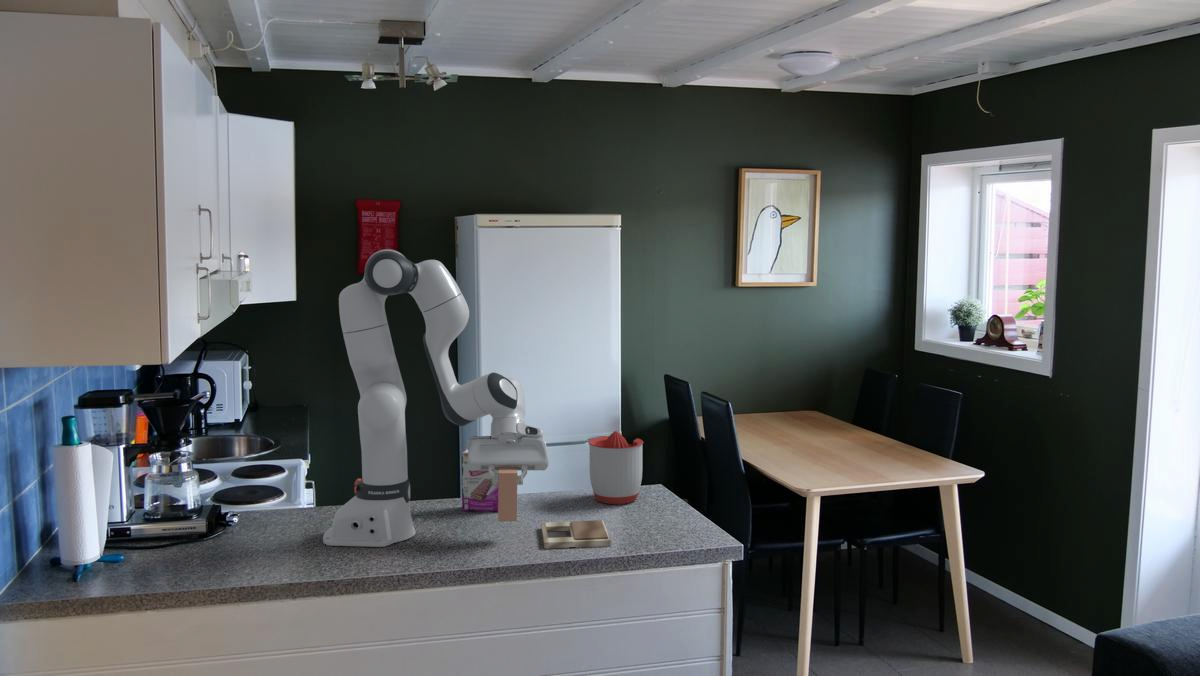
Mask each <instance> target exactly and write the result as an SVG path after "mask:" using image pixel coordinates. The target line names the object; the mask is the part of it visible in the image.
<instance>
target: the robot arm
mask: <svg viewBox="0 0 1200 676" xmlns="http://www.w3.org/2000/svg"><path fill="white" fill-rule="evenodd" d="M363 273H364V274H363V277H362V280H361V281H358V282H357V283H352V284H350V285H347V286H346V287H345V288H343V289H342V290H341V291H340V293H339V295H338V296H339V297H338V308H339V309H338V311H339V313H338V314H339V319H340V320H339V321H340V327H341V330H342V335H343V340H344V344H345V348H346V352H347V357H348V361H349V364H350V367H351V370H352V372H353V376H354V379H355V382H356V384H357V385H356V386H357V389H358V391H359V396H360V398H359V401H358V404H357V415H358V429H359V440H360V448H361V449H360V450H361V451H360V452H361V469H362V470H361V474H362V475H361V476H362V477H361V478H356V480H355V482H354V486H353V489H354V496H353V497H352V498H351V499H349V500H348V501H347V502H345V503H344V504H343V505H342V506H341V507H340V508H338V509H337V511H336V512H335V514H334V515H333V519H332V524H331V527H329V528H327V530H326V531H325V532H324V534H323V536H322V542H323V544H324V545H325V544H326V546H333V547H334V546H335V547H337V546H338V547H340V546H341V547H371V548H375V547H378V548H383V547H388V546H390V545H392V544H394V543H395V544H396V543H399V542H403V541H406V540H408V539H411V538H412V537H414V536H416V529H415V526H414V522H413V518H412V514H411V513H412V512H411V507H410V506H411V505H410V500H411V484H410V478H409V477H408V476H409V475H408V446H407V445H408V444H407V433H406V413H405V412H406V406H407V393H406V389H405V384H404V381H403V378H402V373H401V371H400V367H399V363H398V360H397V357H396V354H395V348H394V344H393V341H392V336H391V332H390V326H389V323H388V319H387V314H386V308H385V305H386V304H385V303H386V299H387V298H388V296H395V295H399V294H406V293H407V294H408V295H411V297H412V298H413V299H414V300H415V303H416V304H417V306H418V309H419V310H420V312H421V313H422V316H423V319H424V323H425V333H424V334H423V336H422V342H423V348H424V351H425V354H426V358H427V361H428V364H429V367H430V370H431V372H432V375H433V379H434V381H435V384H436V387H437V391H438V394H439V398H440V404H441V408H442V412H443V414H444V416H445V417H444V418H446V419H447V420H448V421H449V422H451V423H452V424H454V425H456V426H459V427H464V426H466V425H467V426H468V425H469V424H471V423H473V422H475V421H477V420H478V419H481V418H483V417H486V416H489V415H490V416H491V418H492V420H491V423H490V435H482V436H481V435H480V436H479V435H473V436H471V437H470V438H468V439H467V441H466V449H467V450H468V458H467V467H468V468H469V469H470V470H472V471H486V470H489V475H490V477H491V478H492V479H493V485H499V476H496V475H495V474H494V470H499V469H517V471H521V472H520V473H521V474H520V475H517V486H523V485H524V479H525V477H527V474H528V471H546V470H547V469H548V467H549V453H548V446H547V443H546V441H545V440H544V439H543V438H544V437H543V430H542V429H541V428H538V427H535V426H531V425H528V424H525V420H524V419H525V415H526V403H525V400H526V399H525V394H524V391H523V388H522V385H521V384H520V382H519V381H518V380H516V379H514V378H511V377H505V376H504V375H502V374H499V373H497V372H490V373H487V374H484V375H482V376H479V377H477V378H475V379H473V380H471V381H468V382H466V383H463V384H459V383H458V381H457V378H456V376H455V372H454V369H453V366H452V363H451V360H450V357H449V349H450V346H451V345H452V343H453V342H454V341H455V339H457V337H459V335H460V334H461V333H462V332H463V331H464V330H465V328H466V326H467V325H468V322H469V318H470V309H469V305H468V303H467V301H466V299H465V297H464V295H463V293H462V291H461V289H460V287H459V285H458V284H457V281H456V280H455V278H454V277H453V276H452V273H450V272H449V270H448V269H447V268H446V266H445V265H444V264H443V263H442V262H441V261H440V260H436V259H427V260H423V261H420V262H418V263H415V262H412V261H411V260H409V259H408V258H407V257H406V256H405V255H404V254H403V253H401V252H399V251H397V250H395V249H391V248H385V249H381V250H378V251H375V252H374V253H373V254H371V255H370V256H369V258H368V259H367V261H366V262H365V265H364V272H363Z"/></svg>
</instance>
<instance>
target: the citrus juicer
mask: <svg viewBox="0 0 1200 676" xmlns="http://www.w3.org/2000/svg"><path fill="white" fill-rule="evenodd" d="M643 444H644V441H643V440H642V439H641V438H638V437H637V438H635V439H634V440H633V441H632V444H629V443H628V441H627V440H626V438H625V437H624V436H623V434H622V433H620V432H619V431H617V430H615V431H612V433H611V434H610V435H607V436H606V435H605V436H598V437H594V438H590V440H589V441H588V445H589V447H588V448H589V479H590V485H591V488H592V493H593V495H594V498H595V500H597V502H599V501H600V503H604V504H610V505H617V504H622V505H625V504H630V503H632V502H635V501H636V500H637V498H638V496H639V493H640V489H641V484H642V480H643Z"/></svg>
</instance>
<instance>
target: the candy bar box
mask: <svg viewBox="0 0 1200 676" xmlns="http://www.w3.org/2000/svg"><path fill="white" fill-rule="evenodd" d="M467 458H468V450H467V448H466V449H464V450H463V451H462V453H461V501H462V502H461V504H462V505H461V506H462V507H461V509H462V512H463V511H464V512H465V511H468V512H497V513H498V491H499V485H493V479H492V478H491V477H490V475H489V470H486V471H472V470H470V469H469V468H468V467H467ZM494 474H495V475H496V476H499V470H494Z"/></svg>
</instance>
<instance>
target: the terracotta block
mask: <svg viewBox="0 0 1200 676" xmlns="http://www.w3.org/2000/svg"><path fill="white" fill-rule="evenodd" d="M517 476H518V470H517V469H499V491H498V512H497V522H517V520H518V519H517V518H518V515H517V514H518V511H517V510H518V485H517Z"/></svg>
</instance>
